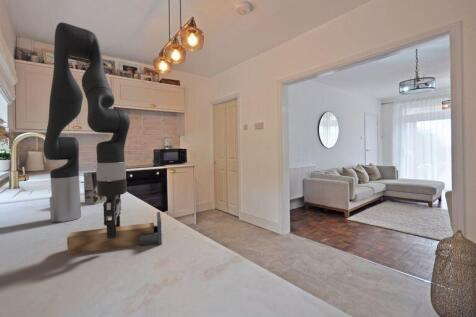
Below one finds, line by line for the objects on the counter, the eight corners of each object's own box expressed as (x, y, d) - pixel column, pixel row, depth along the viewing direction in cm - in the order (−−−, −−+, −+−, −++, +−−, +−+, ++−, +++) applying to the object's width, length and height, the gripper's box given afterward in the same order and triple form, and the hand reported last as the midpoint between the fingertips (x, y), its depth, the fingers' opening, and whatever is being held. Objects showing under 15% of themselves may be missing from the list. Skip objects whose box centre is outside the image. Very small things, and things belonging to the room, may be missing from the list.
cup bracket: (139, 247, 66) (138, 223, 66) (141, 235, 75) (140, 214, 75) (161, 244, 68) (161, 221, 68) (160, 232, 77) (159, 212, 77)
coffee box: (95, 204, 117) (93, 172, 116) (84, 204, 118) (82, 172, 118) (108, 200, 126) (107, 170, 125) (98, 200, 127) (97, 170, 127)
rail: (67, 255, 63) (66, 237, 62) (72, 249, 67) (71, 232, 66) (154, 242, 70) (153, 226, 70) (154, 237, 74) (153, 222, 74)
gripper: (102, 175, 73) (104, 226, 74) (90, 182, 59) (93, 244, 60) (128, 174, 75) (130, 223, 76) (123, 180, 62) (125, 239, 63)
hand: (114, 232), depth 68 cm, fingers open, 8 cm apart
